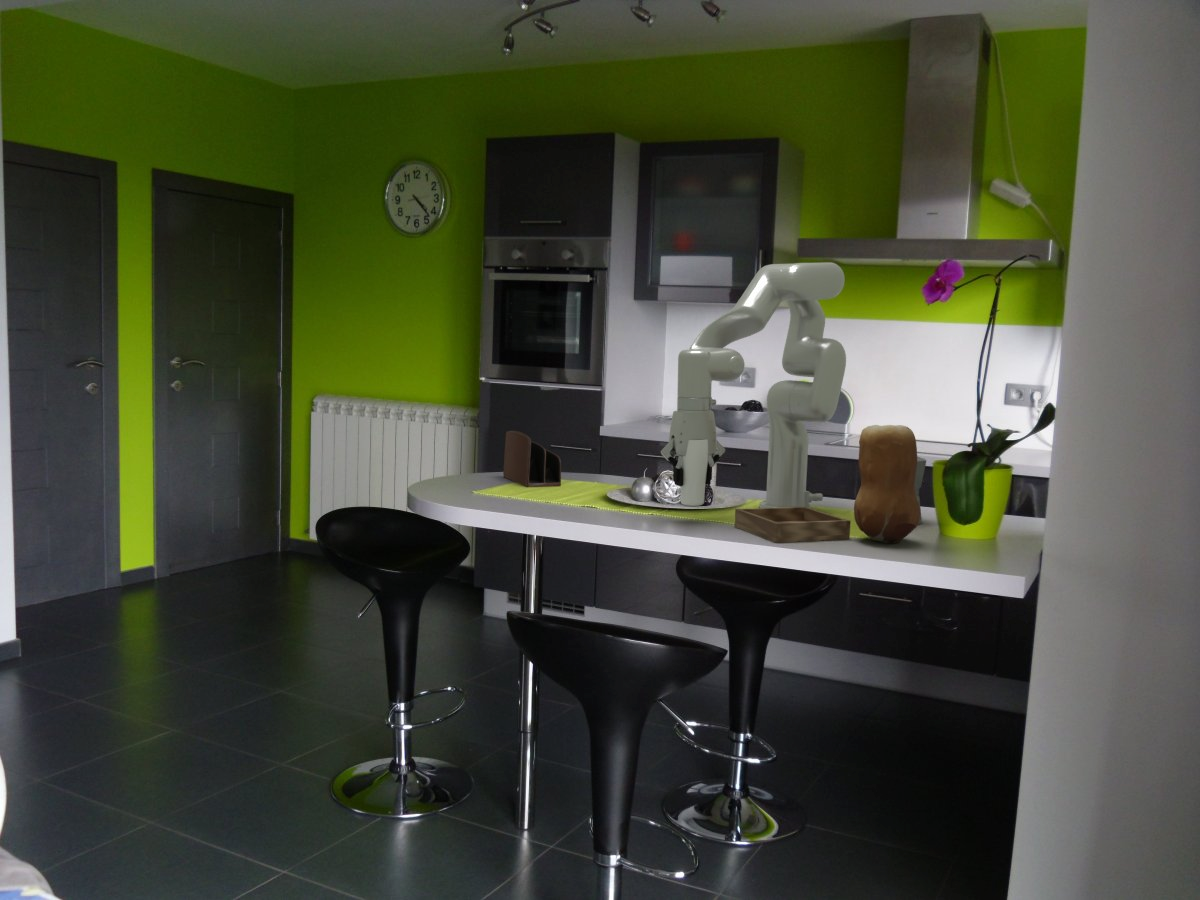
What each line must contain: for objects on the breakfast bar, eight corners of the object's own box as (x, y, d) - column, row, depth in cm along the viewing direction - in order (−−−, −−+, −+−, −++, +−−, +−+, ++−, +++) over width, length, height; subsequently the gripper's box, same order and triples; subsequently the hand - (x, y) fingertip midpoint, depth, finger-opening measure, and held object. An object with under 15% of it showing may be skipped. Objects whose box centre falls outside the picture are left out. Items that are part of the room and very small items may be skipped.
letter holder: (526, 488, 289) (528, 435, 288) (502, 477, 307) (504, 428, 306) (561, 487, 293) (563, 435, 292) (536, 476, 311) (537, 427, 310)
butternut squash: (872, 533, 239) (879, 420, 236) (929, 543, 230) (937, 425, 227) (839, 540, 229) (846, 422, 226) (896, 551, 220) (904, 428, 217)
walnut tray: (804, 523, 248) (805, 506, 247) (849, 539, 231) (850, 520, 231) (734, 526, 241) (735, 509, 241) (775, 542, 225) (776, 523, 224)
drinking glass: (705, 507, 241) (707, 440, 239) (675, 506, 243) (676, 439, 240) (708, 502, 248) (710, 437, 246) (679, 500, 249) (680, 436, 247)
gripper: (721, 402, 249) (719, 480, 251) (651, 404, 243) (650, 483, 245) (736, 405, 242) (734, 485, 244) (665, 407, 236) (664, 489, 238)
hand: (692, 483), depth 244 cm, fingers closed on drinking glass, 6 cm apart
